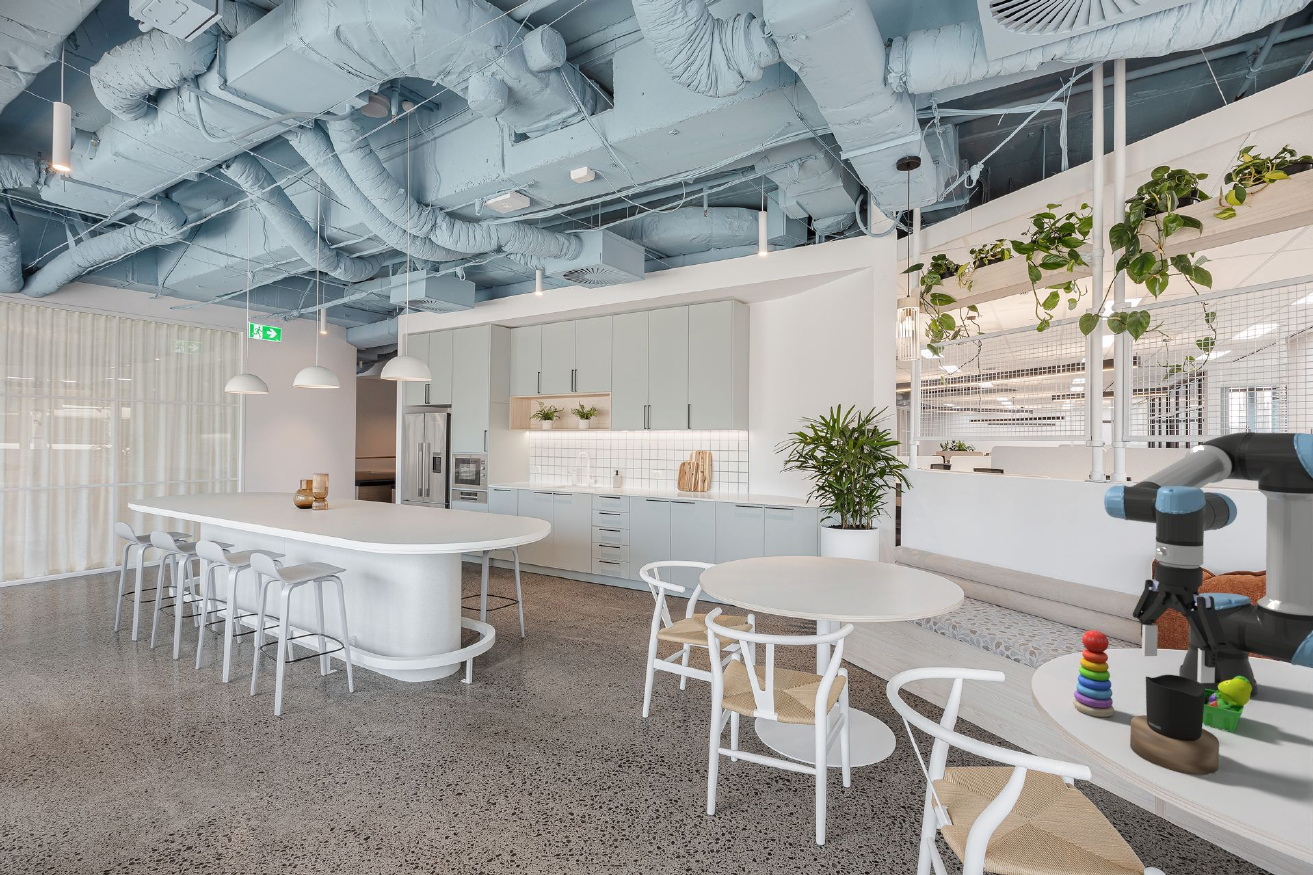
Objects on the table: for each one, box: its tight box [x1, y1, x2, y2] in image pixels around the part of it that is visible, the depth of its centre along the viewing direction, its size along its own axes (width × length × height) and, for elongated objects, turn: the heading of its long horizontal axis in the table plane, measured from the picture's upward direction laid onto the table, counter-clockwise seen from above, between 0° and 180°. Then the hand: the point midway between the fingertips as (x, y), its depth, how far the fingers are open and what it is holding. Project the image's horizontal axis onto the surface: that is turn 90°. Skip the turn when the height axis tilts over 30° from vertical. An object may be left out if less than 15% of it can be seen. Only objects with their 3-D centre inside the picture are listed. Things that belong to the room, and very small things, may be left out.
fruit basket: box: [1202, 676, 1252, 733], centre depth 146 cm, size 11×9×11 cm
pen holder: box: [1145, 674, 1205, 741], centre depth 132 cm, size 9×9×10 cm
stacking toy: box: [1072, 629, 1115, 718], centre depth 152 cm, size 8×8×19 cm
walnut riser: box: [1129, 714, 1220, 775], centre depth 132 cm, size 14×14×5 cm
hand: (1176, 668), depth 132 cm, fingers open, 13 cm apart
